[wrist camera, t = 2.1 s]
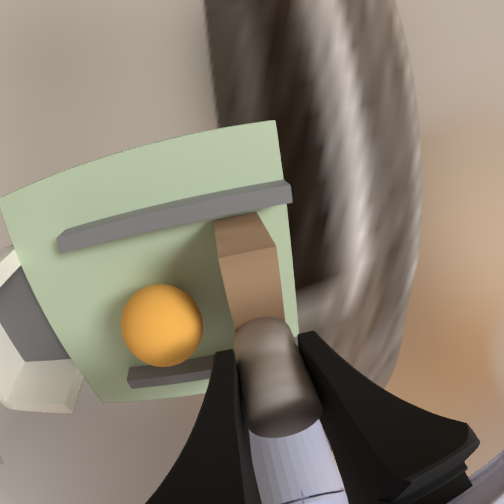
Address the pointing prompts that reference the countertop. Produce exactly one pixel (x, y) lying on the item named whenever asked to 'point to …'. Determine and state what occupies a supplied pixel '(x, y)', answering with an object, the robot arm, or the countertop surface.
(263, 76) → the countertop surface
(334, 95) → the countertop surface
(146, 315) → the ball
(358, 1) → the countertop surface
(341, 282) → the countertop surface
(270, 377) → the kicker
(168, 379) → the pitch
